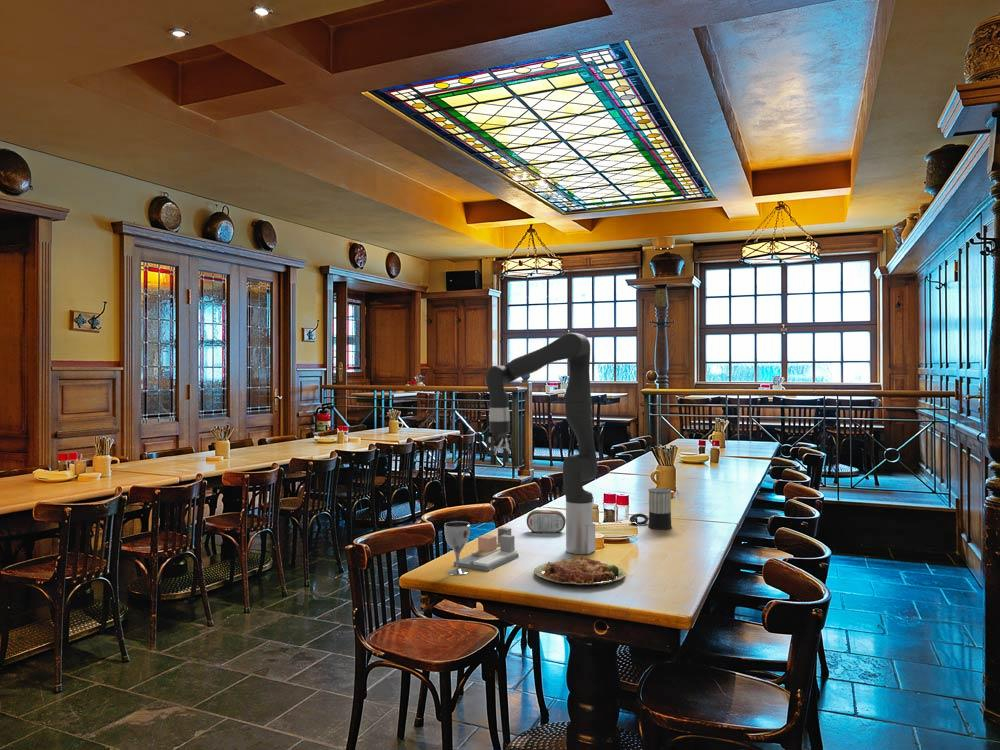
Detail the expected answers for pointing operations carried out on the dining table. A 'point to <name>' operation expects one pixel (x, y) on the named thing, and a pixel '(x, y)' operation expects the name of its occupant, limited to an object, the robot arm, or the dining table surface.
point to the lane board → (469, 559)
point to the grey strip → (499, 552)
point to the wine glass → (457, 541)
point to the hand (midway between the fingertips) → (499, 463)
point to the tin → (545, 521)
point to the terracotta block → (487, 543)
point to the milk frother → (657, 509)
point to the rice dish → (579, 571)
